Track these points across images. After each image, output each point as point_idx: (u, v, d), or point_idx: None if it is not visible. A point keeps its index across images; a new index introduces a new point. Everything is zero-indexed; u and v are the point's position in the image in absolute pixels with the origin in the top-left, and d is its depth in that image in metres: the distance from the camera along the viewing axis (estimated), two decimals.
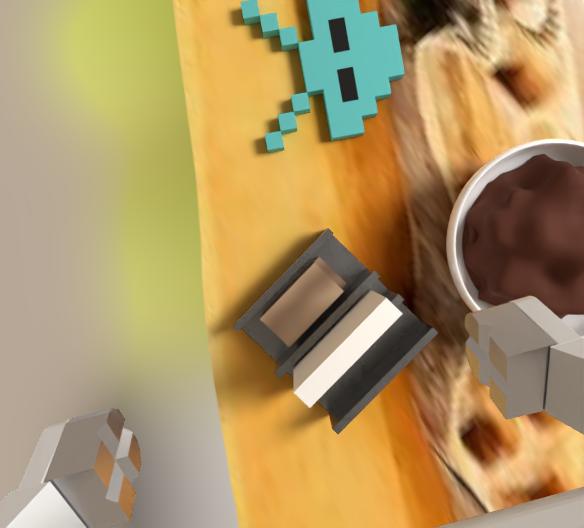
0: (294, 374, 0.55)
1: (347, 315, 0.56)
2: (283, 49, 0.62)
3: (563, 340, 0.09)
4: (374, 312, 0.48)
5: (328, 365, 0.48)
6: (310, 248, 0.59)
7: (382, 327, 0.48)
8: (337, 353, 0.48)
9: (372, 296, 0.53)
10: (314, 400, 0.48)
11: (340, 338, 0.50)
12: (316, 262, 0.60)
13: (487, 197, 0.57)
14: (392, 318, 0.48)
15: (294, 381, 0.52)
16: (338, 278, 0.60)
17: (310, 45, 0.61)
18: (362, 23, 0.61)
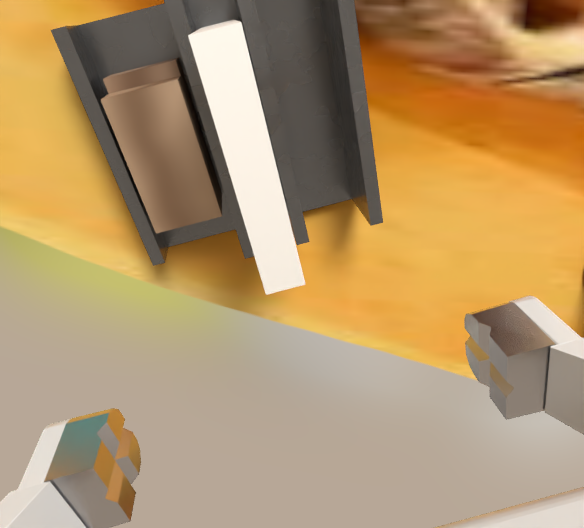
0: None
1: None
2: None
3: (563, 340, 0.09)
4: (205, 82, 0.21)
5: (256, 222, 0.24)
6: (78, 86, 0.31)
7: (245, 84, 0.21)
8: (243, 196, 0.24)
9: None
10: (298, 272, 0.26)
11: None
12: (111, 89, 0.32)
13: None
14: (238, 51, 0.20)
15: None
16: (158, 69, 0.32)
17: None
18: None
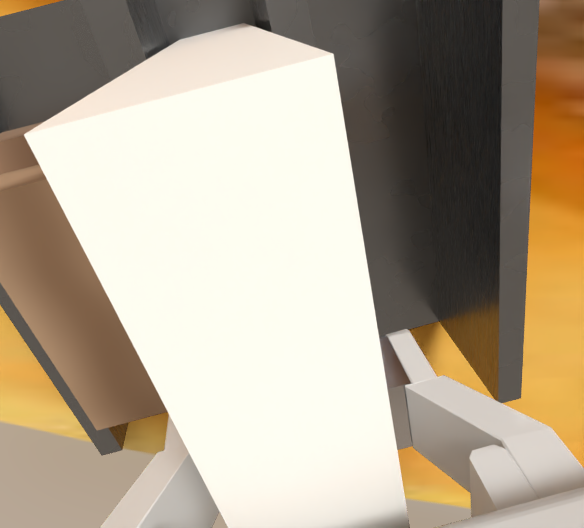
0: None
1: None
2: None
3: (418, 379, 0.08)
4: (144, 334, 0.04)
5: None
6: None
7: (328, 330, 0.05)
8: None
9: None
10: None
11: None
12: None
13: None
14: (309, 200, 0.04)
15: None
16: None
17: None
18: None
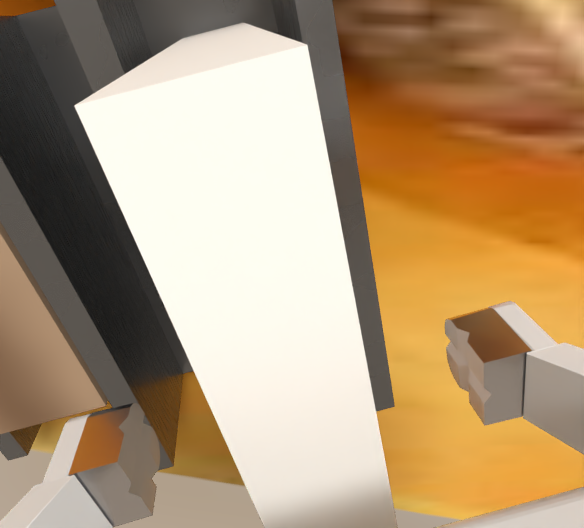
0: None
1: None
2: None
3: (539, 347, 0.09)
4: (160, 269, 0.06)
5: None
6: None
7: (308, 269, 0.06)
8: None
9: None
10: None
11: None
12: None
13: None
14: (291, 160, 0.05)
15: None
16: None
17: None
18: None
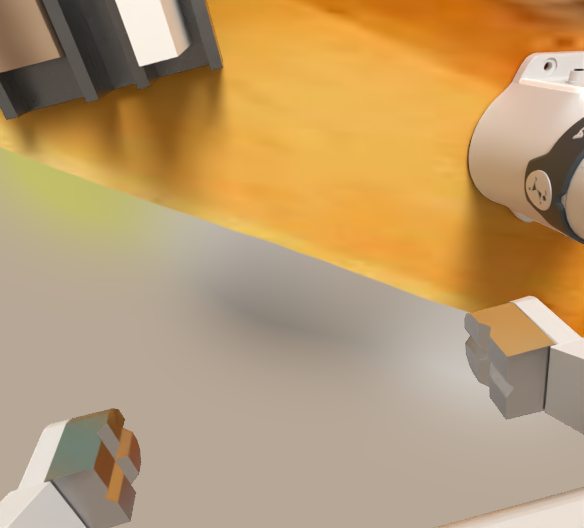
0: None
1: None
2: None
3: (563, 340, 0.09)
4: None
5: None
6: None
7: None
8: None
9: None
10: (168, 40, 0.27)
11: None
12: None
13: None
14: None
15: None
16: None
17: None
18: None
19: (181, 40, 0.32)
